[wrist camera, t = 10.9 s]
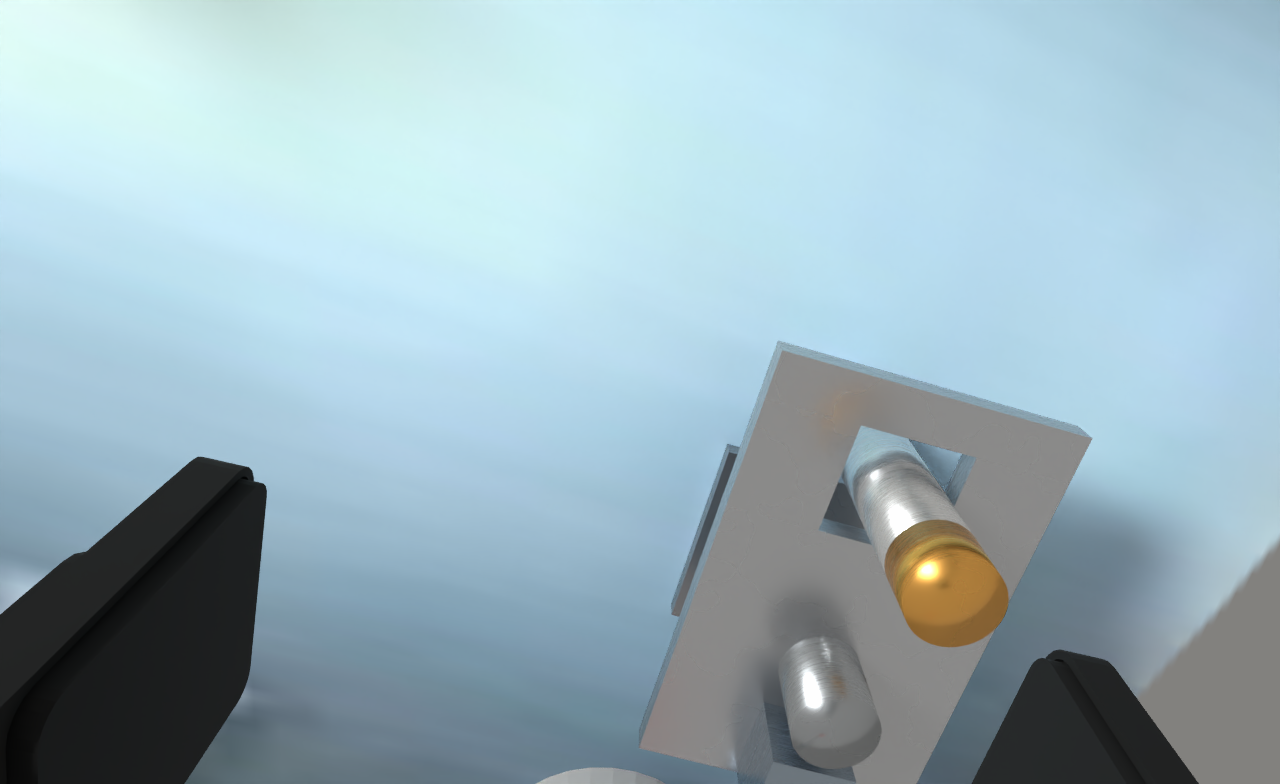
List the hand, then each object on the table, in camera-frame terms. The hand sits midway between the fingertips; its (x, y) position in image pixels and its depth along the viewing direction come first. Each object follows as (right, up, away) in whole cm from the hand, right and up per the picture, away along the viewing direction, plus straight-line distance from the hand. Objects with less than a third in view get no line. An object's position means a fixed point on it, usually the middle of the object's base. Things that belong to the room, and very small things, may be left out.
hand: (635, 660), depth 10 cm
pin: (+8, +3, +25) cm, 26 cm away
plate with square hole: (+6, -4, +27) cm, 28 cm away
